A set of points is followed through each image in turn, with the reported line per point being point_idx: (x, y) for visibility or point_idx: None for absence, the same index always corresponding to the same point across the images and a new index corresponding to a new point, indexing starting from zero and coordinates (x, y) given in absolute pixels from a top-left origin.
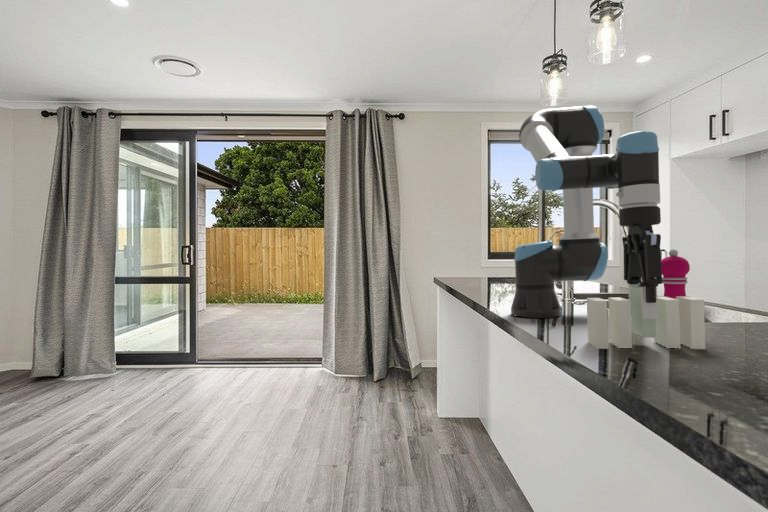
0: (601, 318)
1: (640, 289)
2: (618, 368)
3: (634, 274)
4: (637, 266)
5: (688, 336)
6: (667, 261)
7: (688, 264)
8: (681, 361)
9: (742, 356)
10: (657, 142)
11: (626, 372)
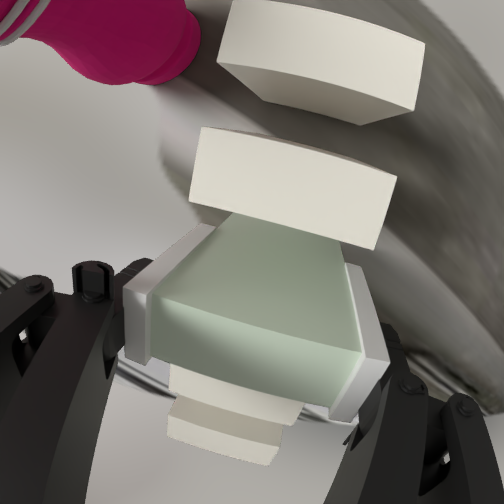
0: None
1: (316, 400)
2: (437, 393)
3: (100, 384)
4: (77, 432)
5: (345, 117)
6: None
7: None
8: (459, 262)
9: (457, 78)
10: None
11: (457, 392)
